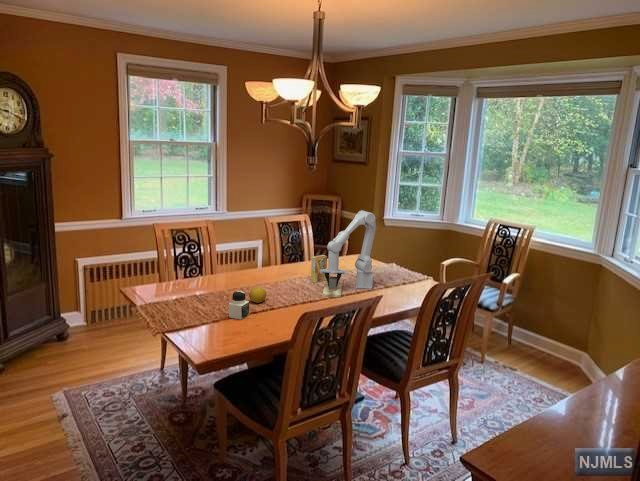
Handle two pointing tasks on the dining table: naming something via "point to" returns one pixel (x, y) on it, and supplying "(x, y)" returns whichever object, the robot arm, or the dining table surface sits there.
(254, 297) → the fruit
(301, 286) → the dining table surface
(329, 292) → the board
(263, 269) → the dining table surface
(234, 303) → the medicine bottle
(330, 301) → the dining table surface
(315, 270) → the candy box
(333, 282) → the sanding block
